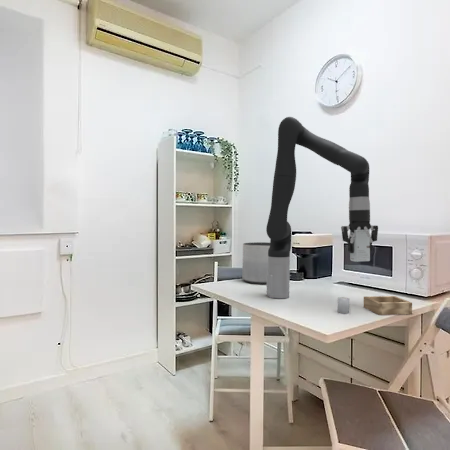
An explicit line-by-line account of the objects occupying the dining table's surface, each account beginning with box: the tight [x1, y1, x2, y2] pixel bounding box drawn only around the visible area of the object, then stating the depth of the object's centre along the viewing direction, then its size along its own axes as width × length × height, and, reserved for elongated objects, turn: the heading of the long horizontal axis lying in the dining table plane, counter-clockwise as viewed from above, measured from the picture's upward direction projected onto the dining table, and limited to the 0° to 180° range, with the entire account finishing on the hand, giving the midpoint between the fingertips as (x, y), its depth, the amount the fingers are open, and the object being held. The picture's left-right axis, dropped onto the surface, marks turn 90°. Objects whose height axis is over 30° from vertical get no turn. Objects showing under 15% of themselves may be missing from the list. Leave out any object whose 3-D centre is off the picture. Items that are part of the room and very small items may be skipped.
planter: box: [241, 241, 270, 285], centre depth 180 cm, size 23×23×20 cm
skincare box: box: [349, 229, 371, 263], centre depth 129 cm, size 6×4×12 cm
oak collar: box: [363, 295, 413, 316], centre depth 123 cm, size 12×10×4 cm
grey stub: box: [337, 296, 350, 315], centre depth 120 cm, size 4×4×5 cm
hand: (360, 252), depth 129 cm, fingers closed on skincare box, 6 cm apart
